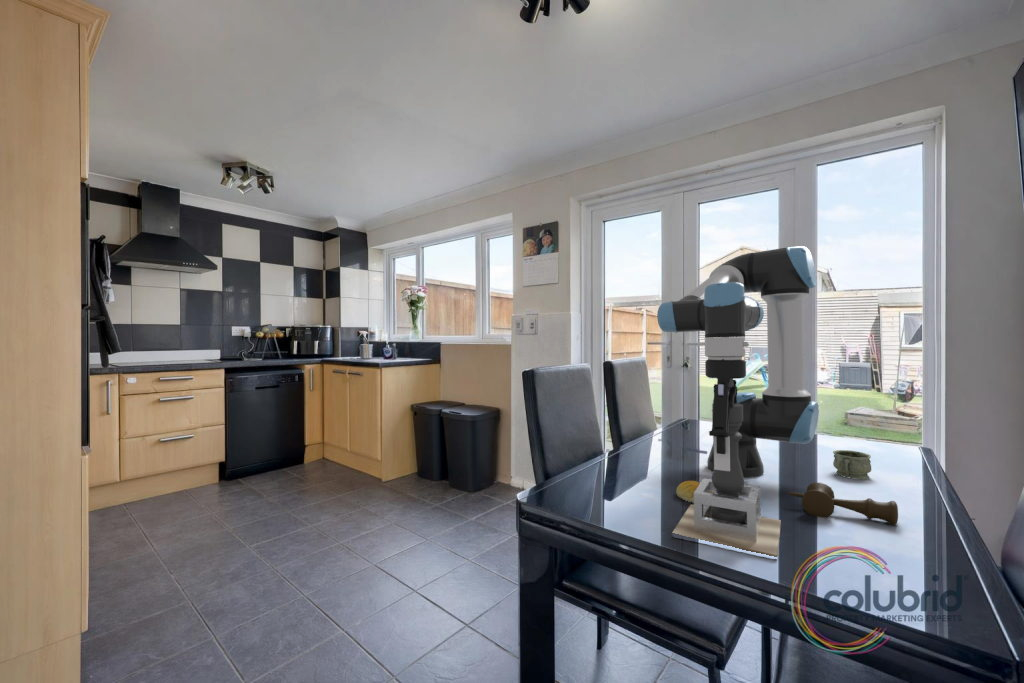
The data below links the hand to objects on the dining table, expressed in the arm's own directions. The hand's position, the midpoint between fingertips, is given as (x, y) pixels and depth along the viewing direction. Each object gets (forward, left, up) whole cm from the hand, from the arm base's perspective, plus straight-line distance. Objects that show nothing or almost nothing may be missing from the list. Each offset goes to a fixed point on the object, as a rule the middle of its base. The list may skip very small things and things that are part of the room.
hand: (726, 461), depth 91 cm
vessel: (-59, +25, -14) cm, 66 cm away
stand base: (0, 0, -14) cm, 14 cm away
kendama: (-22, +20, -15) cm, 33 cm away
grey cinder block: (0, 0, -14) cm, 14 cm away
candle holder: (0, 0, -13) cm, 13 cm away
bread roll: (-17, -10, -15) cm, 25 cm away
